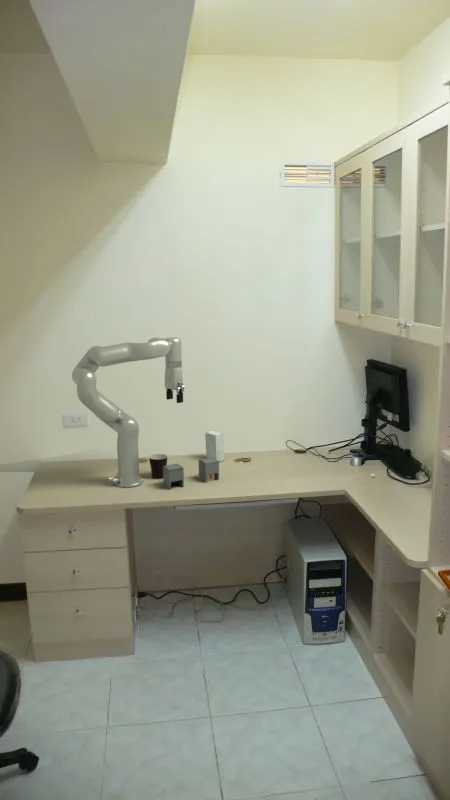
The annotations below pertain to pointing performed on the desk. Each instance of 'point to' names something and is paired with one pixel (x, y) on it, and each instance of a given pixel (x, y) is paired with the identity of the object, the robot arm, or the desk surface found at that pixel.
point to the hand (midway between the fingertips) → (174, 400)
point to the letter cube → (210, 477)
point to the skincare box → (215, 445)
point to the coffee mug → (157, 465)
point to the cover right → (208, 468)
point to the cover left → (173, 475)
